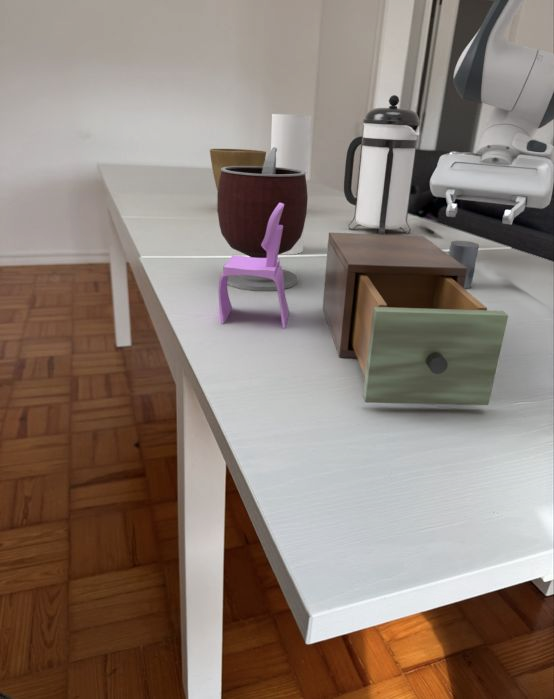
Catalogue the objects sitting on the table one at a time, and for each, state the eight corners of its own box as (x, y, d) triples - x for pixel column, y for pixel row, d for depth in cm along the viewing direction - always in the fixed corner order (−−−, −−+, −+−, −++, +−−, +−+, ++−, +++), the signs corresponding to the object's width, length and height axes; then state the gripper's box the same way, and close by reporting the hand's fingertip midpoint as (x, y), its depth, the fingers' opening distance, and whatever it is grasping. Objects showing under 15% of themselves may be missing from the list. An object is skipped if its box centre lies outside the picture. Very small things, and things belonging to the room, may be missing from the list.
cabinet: (450, 360, 63) (467, 268, 58) (339, 357, 62) (348, 264, 58) (412, 311, 78) (423, 235, 74) (322, 309, 77) (328, 232, 73)
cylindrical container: (276, 244, 114) (282, 114, 104) (308, 249, 111) (317, 115, 102) (260, 251, 108) (265, 113, 98) (293, 256, 105) (301, 115, 96)
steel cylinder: (465, 281, 94) (473, 241, 91) (475, 289, 90) (483, 247, 87) (440, 280, 94) (447, 240, 91) (448, 288, 90) (456, 246, 87)
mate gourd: (295, 296, 82) (303, 155, 74) (206, 287, 84) (205, 149, 76) (308, 270, 96) (317, 149, 88) (231, 263, 98) (233, 144, 91)
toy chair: (227, 305, 77) (228, 195, 71) (289, 310, 76) (296, 199, 70) (215, 325, 69) (215, 204, 63) (284, 331, 69) (291, 209, 63)
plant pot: (275, 213, 151) (278, 151, 145) (235, 218, 141) (236, 152, 135) (238, 205, 160) (239, 147, 154) (198, 209, 150) (197, 147, 144)
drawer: (493, 411, 50) (514, 320, 46) (367, 409, 49) (379, 315, 46) (437, 341, 65) (450, 268, 62) (340, 338, 65) (348, 264, 61)
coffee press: (408, 227, 140) (426, 98, 128) (411, 239, 125) (431, 95, 114) (340, 222, 142) (351, 95, 131) (335, 233, 128) (348, 91, 116)
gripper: (441, 138, 99) (416, 199, 96) (564, 146, 90) (542, 214, 86) (443, 163, 105) (420, 221, 101) (560, 173, 95) (539, 238, 91)
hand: (477, 218), depth 93 cm, fingers open, 8 cm apart
